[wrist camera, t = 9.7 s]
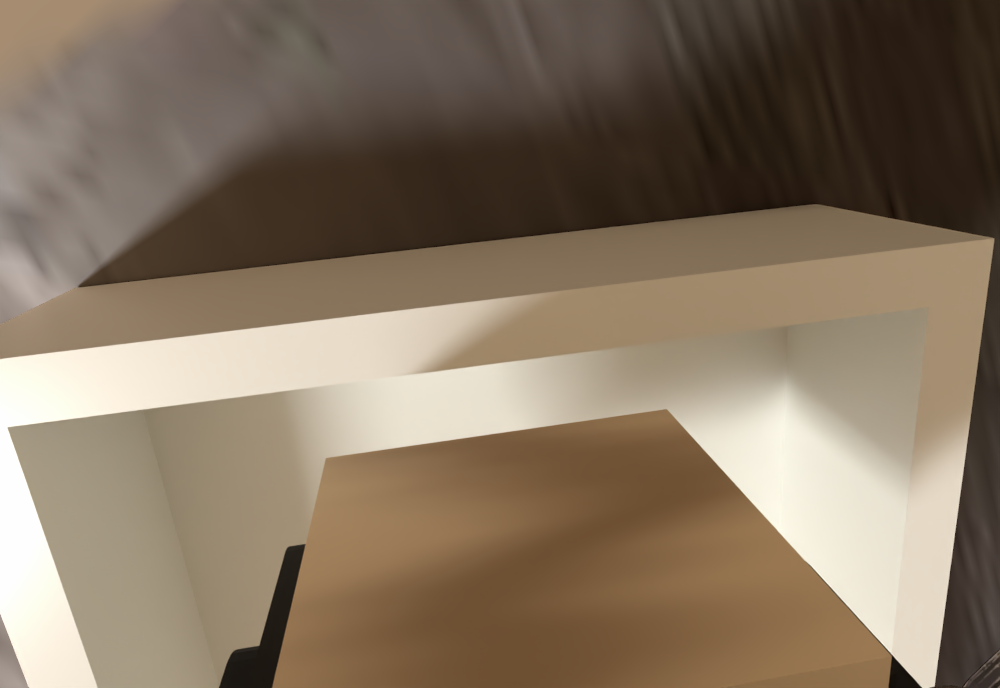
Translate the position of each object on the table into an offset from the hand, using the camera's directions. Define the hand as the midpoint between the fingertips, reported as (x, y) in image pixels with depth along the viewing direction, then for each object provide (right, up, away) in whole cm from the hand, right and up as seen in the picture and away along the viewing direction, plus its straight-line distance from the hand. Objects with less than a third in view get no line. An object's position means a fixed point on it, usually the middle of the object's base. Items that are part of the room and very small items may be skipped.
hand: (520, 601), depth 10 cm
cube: (0, 0, 0) cm, 1 cm away
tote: (0, -3, +8) cm, 8 cm away
